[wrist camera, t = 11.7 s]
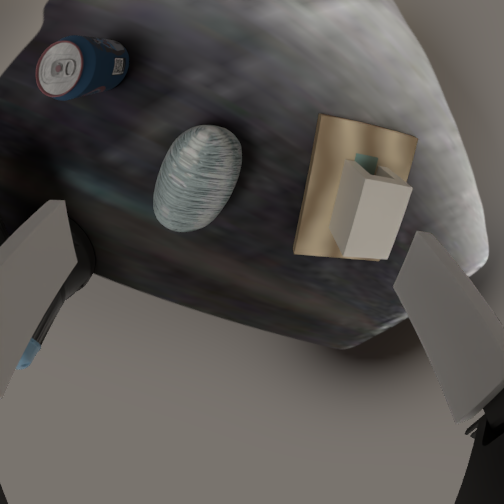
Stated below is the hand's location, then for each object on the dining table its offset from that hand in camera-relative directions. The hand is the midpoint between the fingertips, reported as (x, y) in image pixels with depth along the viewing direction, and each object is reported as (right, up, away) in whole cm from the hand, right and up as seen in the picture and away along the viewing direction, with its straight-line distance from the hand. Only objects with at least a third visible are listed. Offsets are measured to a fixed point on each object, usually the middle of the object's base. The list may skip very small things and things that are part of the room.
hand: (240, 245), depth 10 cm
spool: (-6, +11, +28) cm, 30 cm away
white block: (+15, +7, +28) cm, 33 cm away
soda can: (-18, +23, +19) cm, 35 cm away
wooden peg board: (+14, +8, +29) cm, 34 cm away
